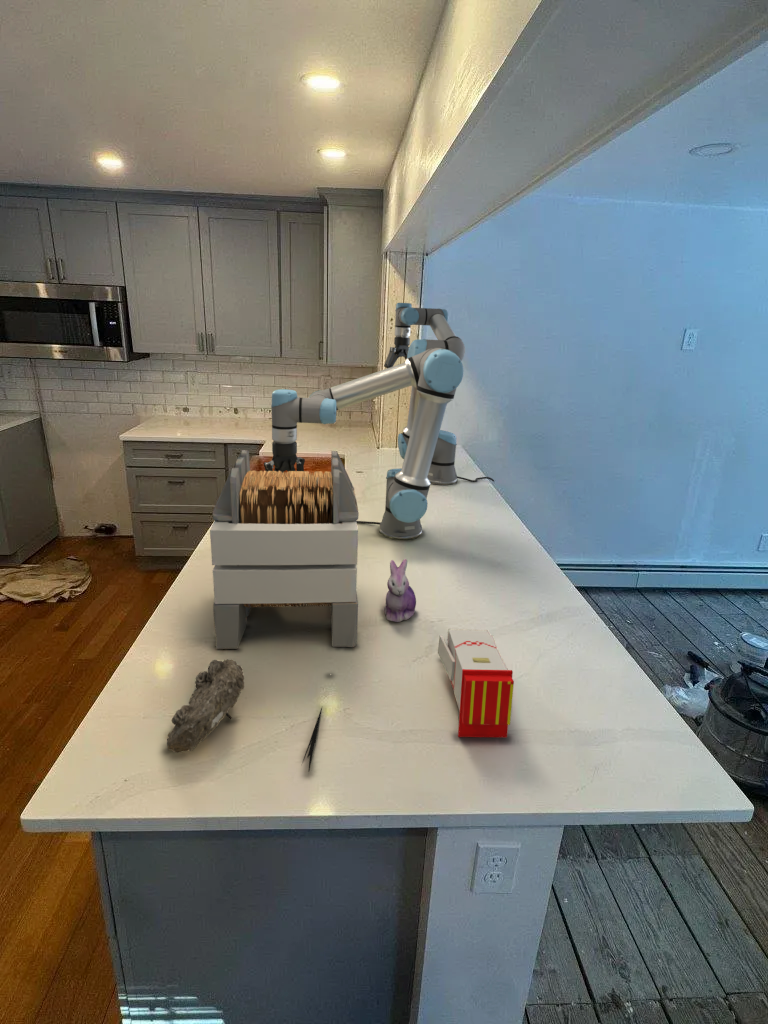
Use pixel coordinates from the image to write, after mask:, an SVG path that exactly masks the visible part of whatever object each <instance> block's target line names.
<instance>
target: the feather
mask: <svg viewBox="0 0 768 1024" xmlns="http://www.w3.org/2000/svg"><path fill="white" fill-rule="evenodd" d="M329 675H330V676H331V675H332V674H331V673H330V674H329ZM322 710H323V707H321V708H320V710H319V713H318V716H317V719H316V723H315V725H314V728H313V731H312V733H311V737H310V739H309V742H308V745H307V748H306V751H305V754H304V757H303V760H302V763H301V767H302V765H303V763H304V761H305V758H308V759H309V760H308V762H307V763H308V764H307V766H308V771H310V770H311V766H312V765H311V764H312V760H313V757H315V756H314V755H315V751H316V749H315V746H317V739H318V733H319V729H320V722H321V717H322V712H323V711H322ZM313 754H314V755H313ZM306 755H307V757H306Z"/></svg>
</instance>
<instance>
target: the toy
mask: <svg viewBox="0 0 768 1024" xmlns="http://www.w3.org/2000/svg"><path fill="white" fill-rule="evenodd" d="M446 640H447V643H446V641H445V639H444V636H443V635H442V634H439V637H438V646H437V656H438V657H439V659H440V661H441V663H442V666H443V668H444V670H445V672H446V674H447V677H448V679H449V681H450V684H451V687H452V690H453V693H454V697H455V701H456V705H457V708H458V711H459V714H458V715H459V716H458V730H457V731H458V732H457V737H458V738H508V731H509V726H510V725H511V717H512V707H513V697H514V696H513V695H514V684H515V680H514V679H513V673H514V671H513V670H512V669H508V667H507V665H506V662H505V661H504V659H503V658H502V655H501V653H500V651H499V649H498V647H497V643H496V639H495V637H494V635H493V634H491V632H490V631H489V629H467V628H466V629H465V628H463V629H461V628H460V629H459V628H448V630H447V639H446Z"/></svg>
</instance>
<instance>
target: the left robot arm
mask: <svg viewBox="0 0 768 1024" xmlns="http://www.w3.org/2000/svg"><path fill="white" fill-rule="evenodd" d="M464 372H465V370H464V365H463V362H462V361H461V360H460V358H459V357H458V356H457V355H456V354H455V353H454V352H452V351H449V350H446V349H444V348H440V347H435V348H431V349H428V350H426V351H424V352H422V353H420V354H417V355H415V356H412V357H410V358H407V359H405V360H404V362H402V363H400V364H396V365H393V367H390V368H384V369H381V370H379V371H376V372H373V373H370V374H366V375H364V376H361V377H358V378H354V379H352V380H349V381H346V382H343V383H340V384H337V385H334V386H331V387H329V388H325V389H322V390H315V391H314V392H312V393H311V394H309V397H299V396H298V393H297V391H296V390H294V389H285V388H282V389H280V388H279V389H275V390H274V391H272V392H271V406H270V409H271V440H272V443H271V451H272V458H271V460H270V461H268V462H267V461H264V463H263V467H264V471H266V473H267V471H282V473H283V472H284V473H285V472H289V471H305V462H306V458H303V457H301V456H297V452H298V442H297V441H298V423H299V424H300V423H301V424H302V423H303V424H319V425H320V424H322V425H329V424H335V423H336V422H337V411H339V410H342V409H345V408H348V407H352V406H355V405H357V404H360V403H363V402H366V401H369V400H373V399H376V398H378V397H382V396H385V395H388V394H391V393H394V392H397V391H400V390H402V389H405V388H406V389H407V388H409V387H412V386H414V387H417V390H416V391H417V392H418V394H419V396H420V398H419V402H418V406H417V410H416V414H415V418H414V422H413V426H412V430H411V434H410V438H409V442H408V446H407V450H406V454H405V458H404V459H403V462H402V467H401V468H391V469H389V470H387V471H386V477H385V479H386V485H385V487H386V488H385V504H384V505H385V507H384V508H385V509H384V513H383V515H382V519H381V522H378V521H365V520H356V521H357V524H362V525H363V524H364V525H365V524H366V525H377V526H378V525H379V527H378V533H379V534H380V535H381V536H382V537H385V538H387V539H389V540H395V541H410V540H415V539H418V538H420V537H421V536H422V535H423V525H422V524H421V519H422V518H423V517H424V516H425V514H427V510H428V503H429V502H428V499H427V498H428V495H429V491H430V488H431V485H432V484H431V483H430V481H429V480H428V473H429V469H430V465H431V462H432V458H433V454H434V450H435V447H436V443H437V439H438V436H439V432H440V430H441V428H442V424H443V421H444V416H445V413H446V409H447V405H448V404H449V403H450V402H452V401H454V398H455V395H456V391H457V388H458V387H459V386H460V385H461V383H462V381H463V378H464V375H465V374H464ZM295 465H296V466H295ZM273 469H274V470H273Z"/></svg>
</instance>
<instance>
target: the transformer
mask: <svg viewBox="0 0 768 1024" xmlns="http://www.w3.org/2000/svg"><path fill="white" fill-rule="evenodd" d="M330 459H331V460H330V461H331V462H330V466H331V467H330V471H324V472H323V471H320V470H319V471H317V470H316V471H315V470H314V472H310V471H309V470H304V471H297V470H295V471H289V472H288V471H284V472H283V473H282V471H274V470H273V471H267V473H266V471H265V470H259V471H258V470H251V464H250V450H249V449H247V450H246V449H241V450H240V453H239V455H238V457H237V459H236V461H235V463H234V465H233V467H232V468H231V470H230V472H229V474H228V477H227V479H226V481H225V483H224V485H223V488H222V490H221V492H220V495H219V497H218V499H217V501H216V503H215V506H214V507H213V510H212V520H213V523H212V524H211V527H210V529H209V538H210V555H211V565H212V566H214V567H213V569H212V584H213V600H214V601H213V605H212V610H213V611H212V612H213V624H214V633H215V646H214V648H215V649H216V650H222V651H223V649H225V650H227V649H229V650H230V649H233V650H234V649H235V650H237V649H238V648H239V646H240V643H241V641H242V638H243V635H244V633H245V630H246V628H247V618H249V615H250V612H251V608H270V607H272V608H276V607H277V608H279V607H280V608H282V607H285V608H288V607H291V608H294V607H295V608H296V607H306V606H307V607H326V606H328V607H330V617H331V618H330V620H331V621H330V625H331V626H330V627H331V647H333V648H335V647H337V648H338V647H339V648H340V647H347V648H354V647H356V646H358V622H359V621H358V618H359V600H358V592H357V583H358V568H357V564H358V547H359V546H358V545H359V528H358V527H359V526H358V523H357V521H358V520H359V515H360V514H359V507H358V502H357V498H356V497H357V496H356V493H355V492H356V491H355V487H354V485H353V482H352V481H351V478H350V477H349V474H348V472H347V470H346V468H345V465H344V463H343V461H342V459H341V457H340V455H339V453H338V451H337V450H331V458H330Z"/></svg>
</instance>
